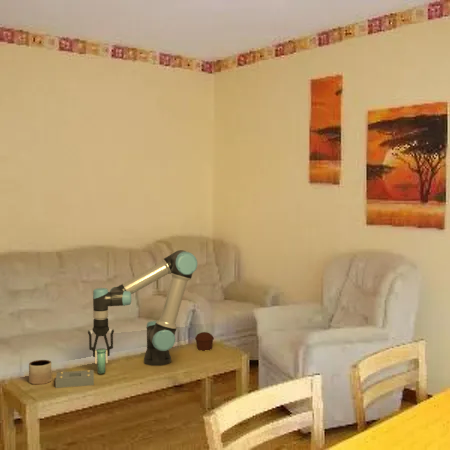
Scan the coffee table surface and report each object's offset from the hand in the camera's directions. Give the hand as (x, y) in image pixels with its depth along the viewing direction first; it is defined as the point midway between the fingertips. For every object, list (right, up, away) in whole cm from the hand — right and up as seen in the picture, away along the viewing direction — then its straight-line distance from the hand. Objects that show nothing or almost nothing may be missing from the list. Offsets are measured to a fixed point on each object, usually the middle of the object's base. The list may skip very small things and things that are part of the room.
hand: (101, 362), depth 299 cm
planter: (-28, -7, -11) cm, 31 cm away
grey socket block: (-10, -7, -13) cm, 18 cm away
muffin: (+52, -4, +50) cm, 72 cm away
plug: (0, -5, 0) cm, 5 cm away
